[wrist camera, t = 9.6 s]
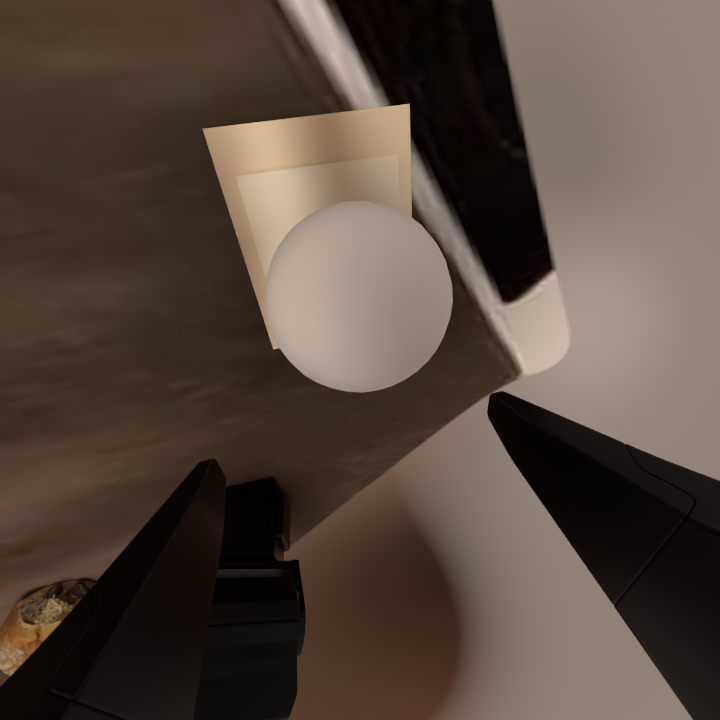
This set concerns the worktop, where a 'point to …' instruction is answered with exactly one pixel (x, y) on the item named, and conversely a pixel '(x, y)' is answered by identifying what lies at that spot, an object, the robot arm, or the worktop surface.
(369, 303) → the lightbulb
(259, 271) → the base
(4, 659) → the bread roll
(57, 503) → the worktop surface
